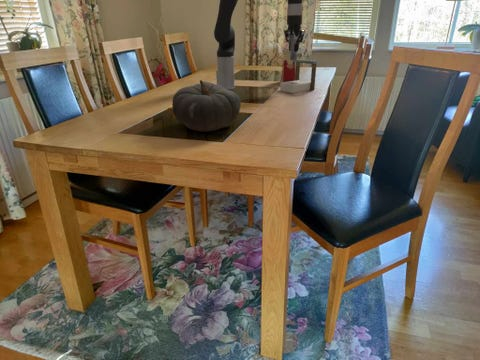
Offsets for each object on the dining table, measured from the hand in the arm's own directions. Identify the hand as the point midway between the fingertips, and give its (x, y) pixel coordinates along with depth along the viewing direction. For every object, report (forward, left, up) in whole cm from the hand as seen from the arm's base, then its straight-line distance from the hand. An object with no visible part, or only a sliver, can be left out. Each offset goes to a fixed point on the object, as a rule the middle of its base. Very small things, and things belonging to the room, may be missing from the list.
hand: (293, 51), depth 174 cm
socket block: (+2, -1, -20) cm, 20 cm away
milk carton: (+14, +18, -20) cm, 31 cm away
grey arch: (+7, -1, -20) cm, 21 cm away
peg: (0, 0, -4) cm, 4 cm away
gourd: (-69, -28, -20) cm, 77 cm away
